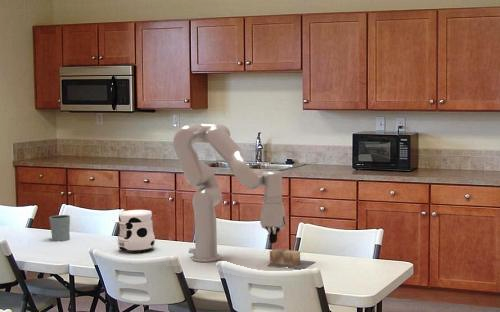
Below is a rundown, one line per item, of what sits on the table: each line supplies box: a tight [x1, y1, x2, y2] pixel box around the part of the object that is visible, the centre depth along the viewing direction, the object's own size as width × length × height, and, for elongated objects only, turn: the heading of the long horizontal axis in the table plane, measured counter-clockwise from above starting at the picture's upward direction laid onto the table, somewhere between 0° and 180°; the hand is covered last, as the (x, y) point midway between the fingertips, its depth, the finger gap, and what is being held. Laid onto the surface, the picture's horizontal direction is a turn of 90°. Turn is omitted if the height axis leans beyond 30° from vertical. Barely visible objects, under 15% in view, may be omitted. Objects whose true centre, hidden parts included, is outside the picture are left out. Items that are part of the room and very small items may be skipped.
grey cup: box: [48, 214, 71, 242], centre depth 383 cm, size 10×10×12 cm
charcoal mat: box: [266, 259, 316, 270], centre depth 321 cm, size 16×14×1 cm
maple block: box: [269, 248, 301, 265], centre depth 322 cm, size 5×5×12 cm
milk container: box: [117, 209, 156, 253], centre depth 354 cm, size 17×17×18 cm
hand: (273, 242), depth 324 cm, fingers closed
